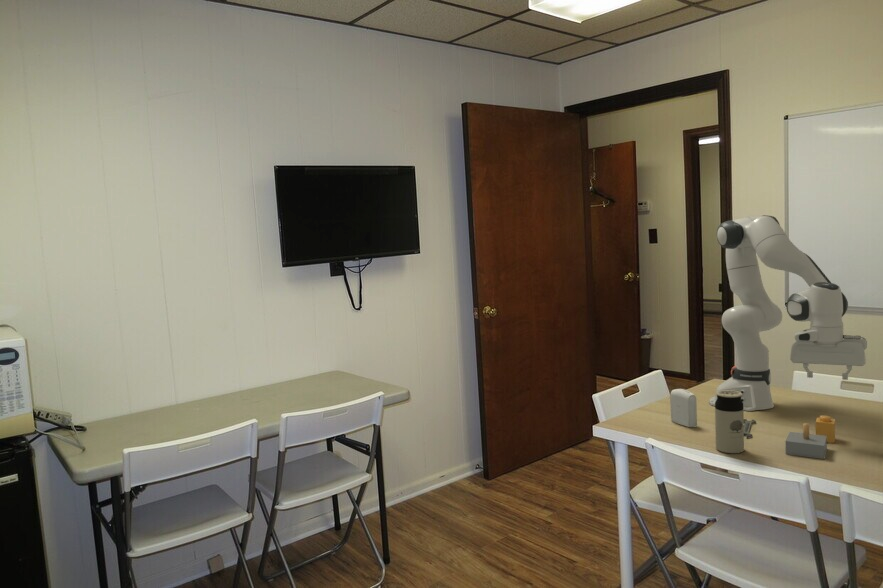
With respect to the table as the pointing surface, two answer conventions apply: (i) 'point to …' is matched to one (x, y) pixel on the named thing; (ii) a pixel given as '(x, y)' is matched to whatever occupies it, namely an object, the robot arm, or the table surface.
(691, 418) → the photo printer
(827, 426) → the orange cube with knob
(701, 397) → the table surface
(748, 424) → the wrench
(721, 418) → the travel mug
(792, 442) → the box
